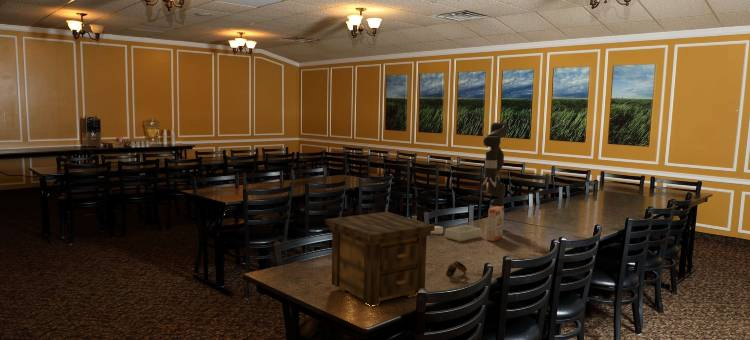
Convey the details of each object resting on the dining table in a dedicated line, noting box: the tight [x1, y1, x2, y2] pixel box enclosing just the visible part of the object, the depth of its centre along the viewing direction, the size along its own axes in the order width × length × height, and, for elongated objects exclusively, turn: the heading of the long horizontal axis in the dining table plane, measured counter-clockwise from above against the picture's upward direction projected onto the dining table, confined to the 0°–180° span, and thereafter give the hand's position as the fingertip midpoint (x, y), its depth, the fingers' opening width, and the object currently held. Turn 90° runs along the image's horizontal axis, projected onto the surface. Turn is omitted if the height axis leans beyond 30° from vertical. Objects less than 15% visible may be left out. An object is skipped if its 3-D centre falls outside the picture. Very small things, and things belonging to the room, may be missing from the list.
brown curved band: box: [445, 260, 468, 278], centre depth 264 cm, size 12×10×8 cm
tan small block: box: [431, 225, 444, 235], centre depth 357 cm, size 8×8×4 cm
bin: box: [444, 224, 482, 242], centre depth 345 cm, size 13×21×6 cm, turn 129°
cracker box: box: [486, 206, 505, 242], centre depth 342 cm, size 14×6×21 cm, turn 145°
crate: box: [324, 211, 436, 306], centre depth 237 cm, size 35×35×33 cm
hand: (489, 191), depth 339 cm, fingers open, 8 cm apart
